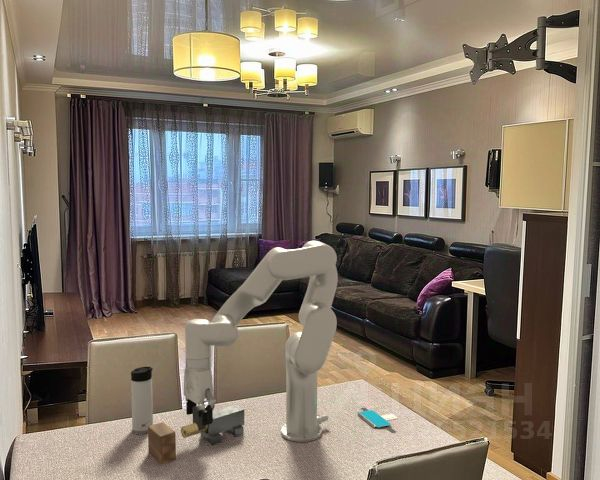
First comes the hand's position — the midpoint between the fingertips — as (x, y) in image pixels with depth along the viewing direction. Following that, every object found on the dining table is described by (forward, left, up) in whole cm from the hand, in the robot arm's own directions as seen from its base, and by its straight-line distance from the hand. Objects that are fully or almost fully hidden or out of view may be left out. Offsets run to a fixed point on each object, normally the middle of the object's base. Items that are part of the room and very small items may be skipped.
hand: (199, 418), depth 158 cm
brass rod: (-4, 0, -4) cm, 6 cm away
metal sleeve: (-8, 0, -8) cm, 11 cm away
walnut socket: (+12, 0, -8) cm, 14 cm away
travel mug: (+9, -19, -8) cm, 23 cm away
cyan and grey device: (-54, +23, -8) cm, 59 cm away
